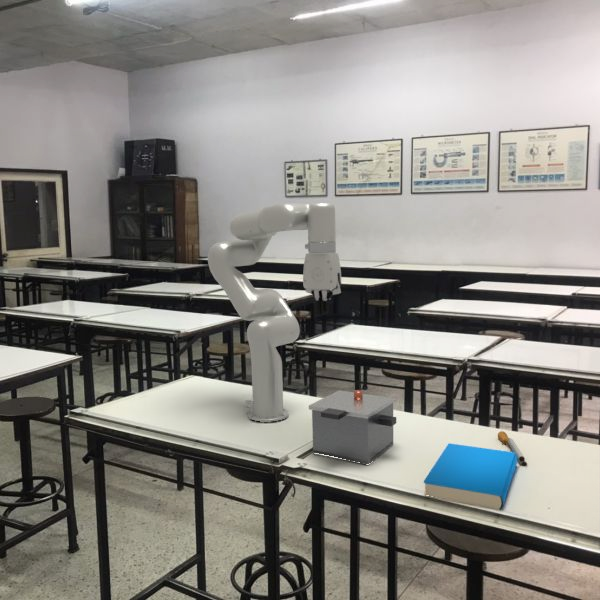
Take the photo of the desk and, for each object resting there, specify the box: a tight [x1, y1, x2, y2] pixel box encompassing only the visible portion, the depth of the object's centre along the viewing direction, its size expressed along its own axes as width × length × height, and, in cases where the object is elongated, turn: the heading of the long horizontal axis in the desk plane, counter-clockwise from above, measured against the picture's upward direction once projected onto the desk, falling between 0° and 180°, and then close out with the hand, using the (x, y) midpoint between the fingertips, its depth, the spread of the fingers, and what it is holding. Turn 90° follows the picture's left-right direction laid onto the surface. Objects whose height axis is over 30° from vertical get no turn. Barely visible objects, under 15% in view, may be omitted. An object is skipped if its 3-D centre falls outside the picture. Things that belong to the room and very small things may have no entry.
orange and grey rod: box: [497, 430, 528, 467], centre depth 160 cm, size 19×3×3 cm
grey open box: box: [311, 402, 397, 464], centre depth 162 cm, size 20×16×12 cm
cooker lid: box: [308, 389, 395, 420], centre depth 160 cm, size 17×21×3 cm
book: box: [423, 443, 518, 510], centre depth 143 cm, size 17×4×25 cm
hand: (323, 314), depth 170 cm, fingers closed
